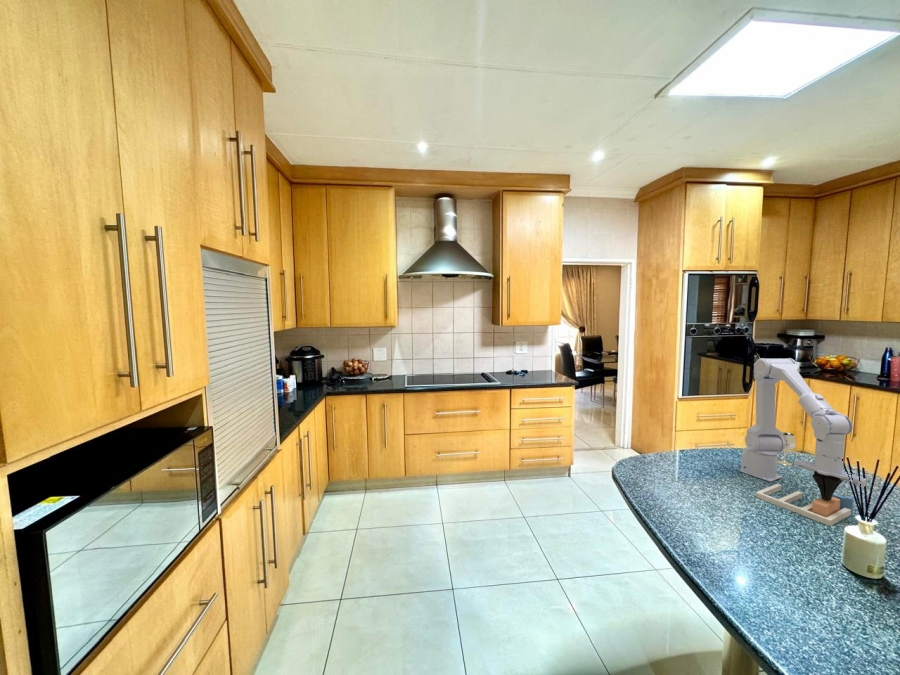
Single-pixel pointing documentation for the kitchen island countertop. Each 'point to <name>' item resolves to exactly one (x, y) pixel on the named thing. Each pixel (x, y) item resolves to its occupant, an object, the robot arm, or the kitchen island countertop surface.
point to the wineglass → (787, 446)
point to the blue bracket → (845, 502)
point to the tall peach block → (826, 506)
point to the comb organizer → (803, 511)
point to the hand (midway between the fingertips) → (826, 499)
